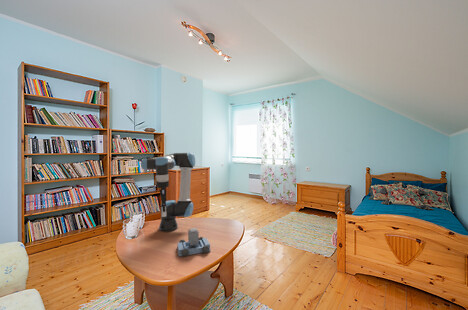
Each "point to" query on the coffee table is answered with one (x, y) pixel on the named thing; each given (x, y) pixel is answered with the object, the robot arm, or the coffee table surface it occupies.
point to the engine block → (193, 238)
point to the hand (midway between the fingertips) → (163, 213)
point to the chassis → (184, 249)
